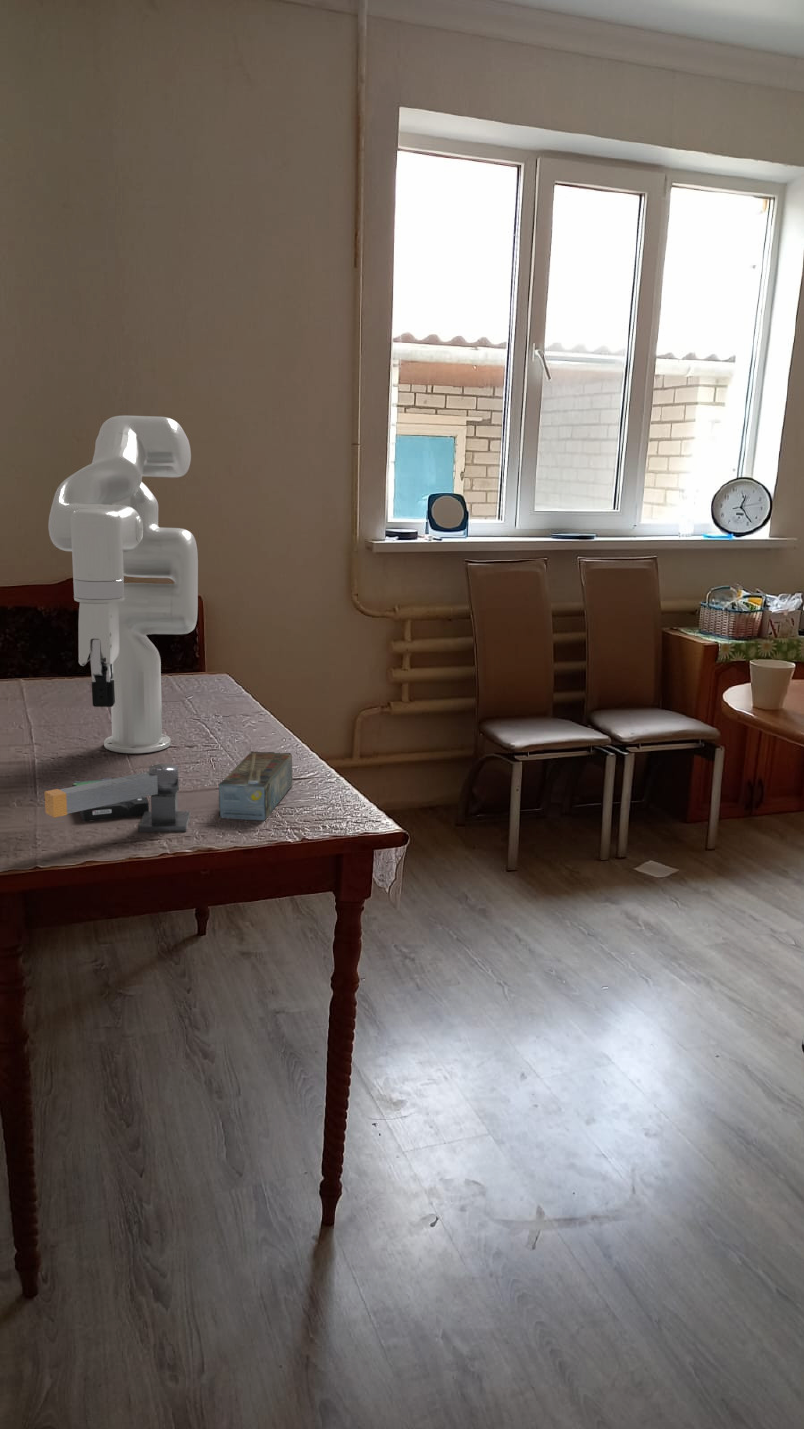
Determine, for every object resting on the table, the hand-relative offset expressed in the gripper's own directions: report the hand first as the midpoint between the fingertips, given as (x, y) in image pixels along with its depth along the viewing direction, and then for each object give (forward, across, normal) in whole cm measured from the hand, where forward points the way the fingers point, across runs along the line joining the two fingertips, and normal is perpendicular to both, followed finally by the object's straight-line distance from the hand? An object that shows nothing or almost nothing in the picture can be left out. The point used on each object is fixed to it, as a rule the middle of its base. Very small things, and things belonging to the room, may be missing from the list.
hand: (103, 705), depth 167 cm
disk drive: (+17, 0, 0) cm, 17 cm away
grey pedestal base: (+16, +10, +10) cm, 22 cm away
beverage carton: (+17, -1, +24) cm, 30 cm away
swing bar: (+11, +15, +4) cm, 19 cm away
